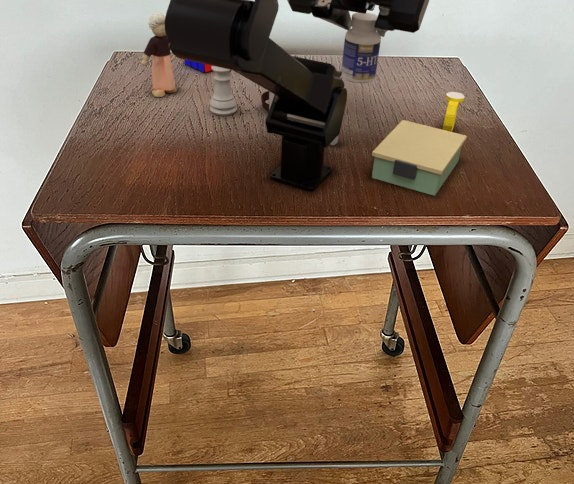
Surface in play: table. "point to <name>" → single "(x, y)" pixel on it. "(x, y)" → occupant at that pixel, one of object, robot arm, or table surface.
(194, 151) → the table surface
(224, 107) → the rook chess piece
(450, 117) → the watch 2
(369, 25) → the pill bottle
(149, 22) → the grandmother figurine
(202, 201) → the table surface
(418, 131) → the lunchbox
